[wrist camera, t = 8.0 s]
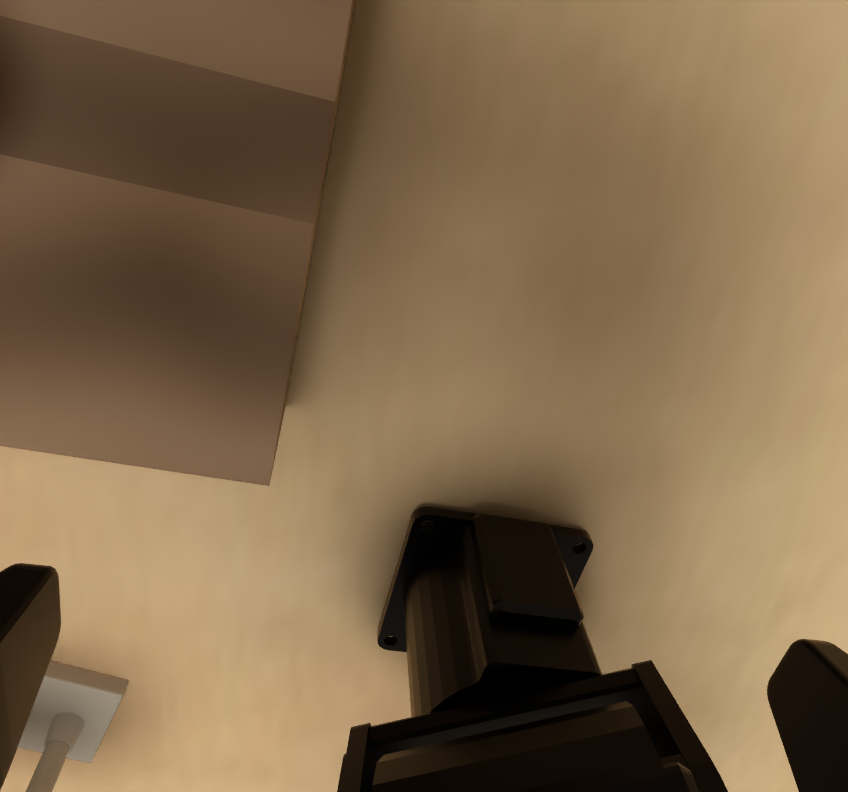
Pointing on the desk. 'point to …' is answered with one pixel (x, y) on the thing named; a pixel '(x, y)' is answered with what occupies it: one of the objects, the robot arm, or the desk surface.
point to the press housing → (160, 223)
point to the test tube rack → (69, 719)
